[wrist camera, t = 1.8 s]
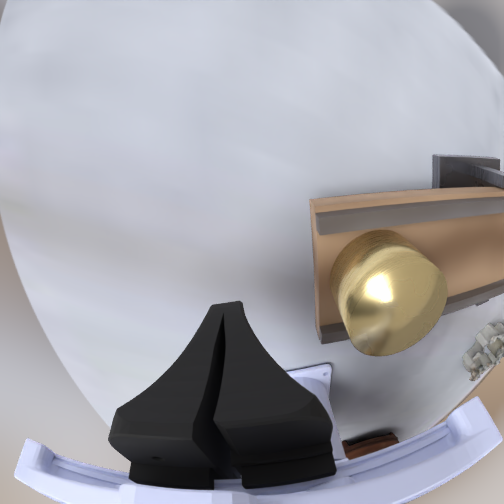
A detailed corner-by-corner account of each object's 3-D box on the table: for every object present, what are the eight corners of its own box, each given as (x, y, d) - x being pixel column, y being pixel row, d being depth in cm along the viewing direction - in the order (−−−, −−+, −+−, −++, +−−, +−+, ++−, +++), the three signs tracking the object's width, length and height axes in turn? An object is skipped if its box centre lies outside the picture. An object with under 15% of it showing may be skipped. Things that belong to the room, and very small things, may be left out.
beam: (549, 259, 14) (559, 268, 13) (315, 326, 16) (321, 347, 14) (562, 187, 11) (574, 194, 9) (309, 199, 13) (318, 211, 11)
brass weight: (406, 303, 14) (433, 341, 11) (329, 319, 14) (344, 365, 11) (418, 224, 12) (457, 254, 9) (328, 236, 12) (352, 274, 9)
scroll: (335, 434, 29) (366, 556, 11) (410, 421, 31) (448, 515, 13) (297, 469, 35) (312, 561, 17) (365, 459, 37) (388, 538, 19)
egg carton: (454, 363, 26) (468, 384, 22) (485, 317, 23) (503, 337, 19) (486, 357, 27) (499, 374, 24) (512, 319, 24) (527, 334, 21)
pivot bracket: (478, 272, 19) (505, 295, 15) (420, 291, 19) (448, 322, 15) (493, 157, 14) (531, 169, 10) (432, 154, 14) (476, 167, 10)
